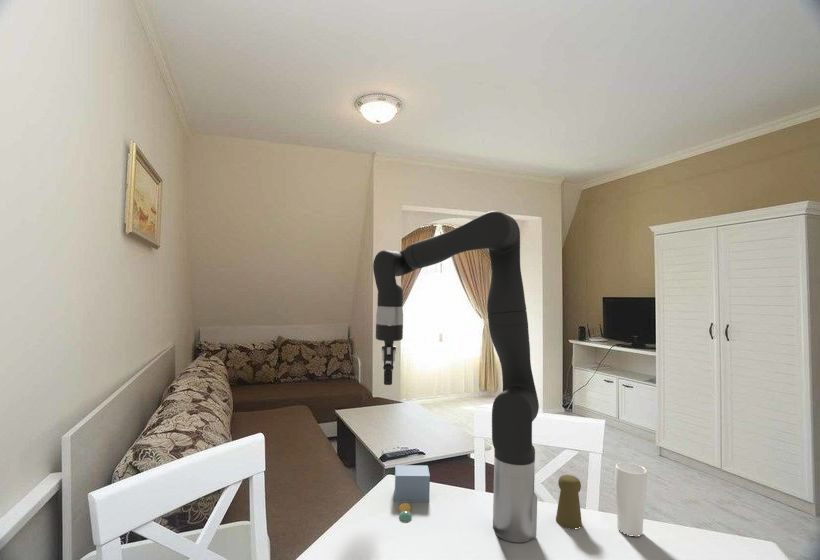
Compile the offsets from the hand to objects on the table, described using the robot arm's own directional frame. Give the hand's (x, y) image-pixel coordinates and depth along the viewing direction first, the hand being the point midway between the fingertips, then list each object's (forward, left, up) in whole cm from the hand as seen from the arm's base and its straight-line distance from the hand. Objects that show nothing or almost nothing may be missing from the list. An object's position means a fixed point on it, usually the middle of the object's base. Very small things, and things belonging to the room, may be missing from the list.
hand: (388, 381), depth 119 cm
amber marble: (-5, +13, -29) cm, 32 cm away
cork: (-45, +16, -30) cm, 57 cm away
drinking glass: (-58, +20, -30) cm, 68 cm away
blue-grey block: (-7, +6, -30) cm, 31 cm away
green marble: (-5, +17, -29) cm, 34 cm away
